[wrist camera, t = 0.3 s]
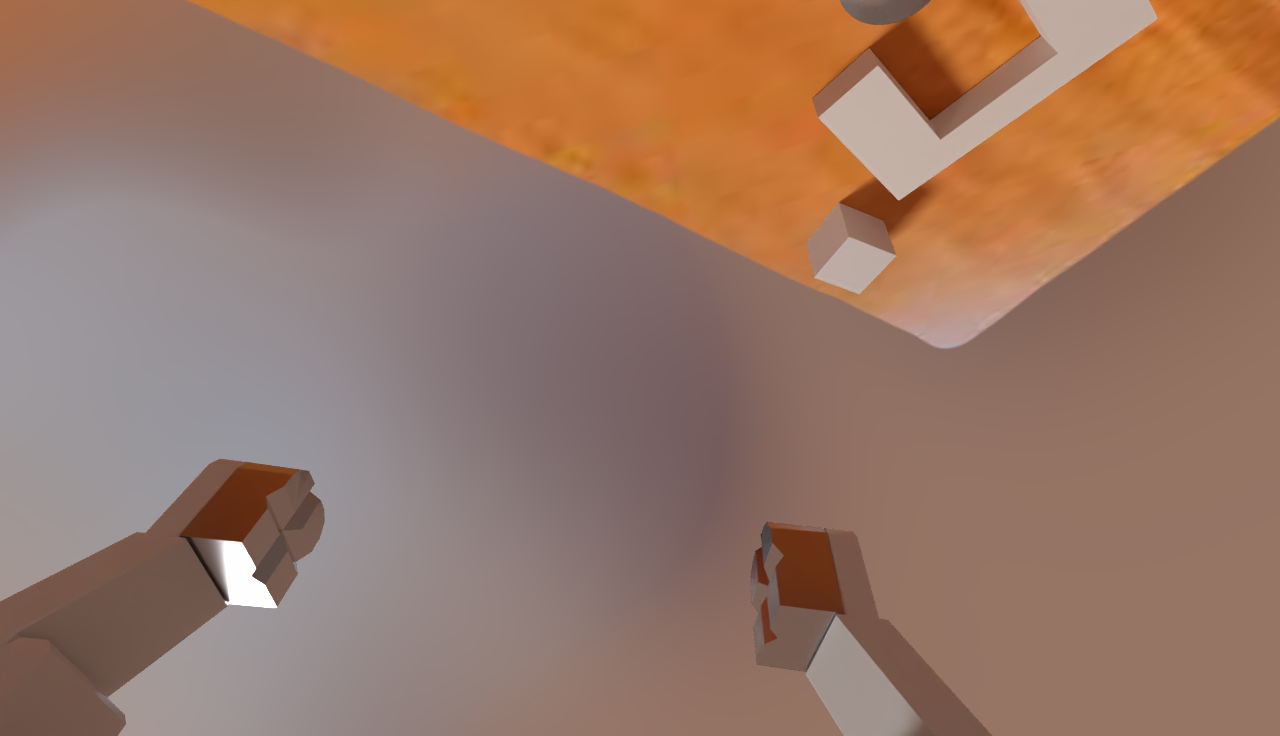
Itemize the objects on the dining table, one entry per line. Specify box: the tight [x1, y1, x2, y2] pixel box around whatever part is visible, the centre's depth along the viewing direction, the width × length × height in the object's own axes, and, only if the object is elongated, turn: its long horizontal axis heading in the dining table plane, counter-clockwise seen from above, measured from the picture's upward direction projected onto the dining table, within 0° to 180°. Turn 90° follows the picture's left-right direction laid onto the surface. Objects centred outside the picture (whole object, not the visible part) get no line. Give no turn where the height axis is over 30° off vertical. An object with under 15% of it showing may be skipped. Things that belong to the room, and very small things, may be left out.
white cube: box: [806, 202, 897, 294], centre depth 64 cm, size 6×6×6 cm
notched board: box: [813, 0, 1158, 201], centre depth 50 cm, size 22×13×4 cm, turn 140°
